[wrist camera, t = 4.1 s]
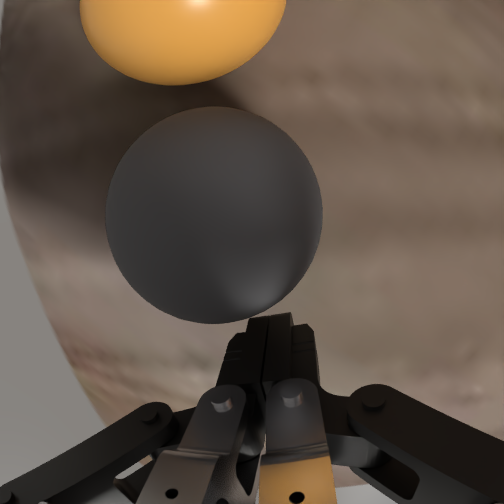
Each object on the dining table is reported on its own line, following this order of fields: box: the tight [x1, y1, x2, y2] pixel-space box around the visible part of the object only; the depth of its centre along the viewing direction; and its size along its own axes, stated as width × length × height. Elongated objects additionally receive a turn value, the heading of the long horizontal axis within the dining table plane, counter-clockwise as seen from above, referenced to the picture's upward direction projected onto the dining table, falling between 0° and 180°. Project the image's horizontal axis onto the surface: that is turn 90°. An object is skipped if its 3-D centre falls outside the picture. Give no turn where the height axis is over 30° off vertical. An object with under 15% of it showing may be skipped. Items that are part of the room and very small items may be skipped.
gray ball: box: [105, 106, 323, 324], centre depth 9 cm, size 6×6×6 cm
